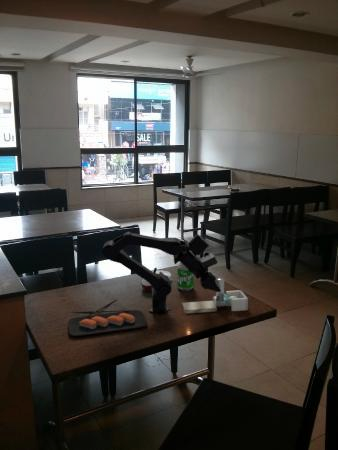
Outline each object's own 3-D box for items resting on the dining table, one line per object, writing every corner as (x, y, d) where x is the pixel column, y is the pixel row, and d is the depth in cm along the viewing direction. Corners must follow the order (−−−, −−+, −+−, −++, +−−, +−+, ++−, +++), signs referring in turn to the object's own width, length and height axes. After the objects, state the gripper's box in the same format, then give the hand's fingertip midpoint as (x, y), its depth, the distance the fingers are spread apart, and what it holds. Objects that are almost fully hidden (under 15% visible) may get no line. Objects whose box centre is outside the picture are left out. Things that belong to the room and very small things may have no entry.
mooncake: (148, 286, 193) (148, 278, 192) (145, 277, 205) (145, 270, 204) (173, 284, 195) (173, 276, 195) (168, 275, 207) (168, 268, 206)
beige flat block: (185, 313, 164) (185, 310, 164) (182, 306, 171) (182, 302, 170) (216, 311, 166) (216, 307, 165) (212, 304, 173) (212, 300, 172)
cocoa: (139, 289, 190) (137, 264, 187) (151, 286, 192) (149, 262, 190) (147, 296, 181) (145, 270, 179) (160, 292, 184) (158, 267, 181)
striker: (216, 306, 166) (216, 282, 163) (212, 300, 172) (213, 276, 169) (229, 305, 167) (230, 281, 164) (225, 299, 172) (226, 276, 170)
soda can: (174, 286, 191) (174, 262, 188) (188, 284, 194) (189, 260, 192) (181, 292, 185) (182, 267, 182) (196, 289, 188) (196, 265, 185)
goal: (232, 311, 166) (232, 299, 165) (225, 302, 174) (226, 291, 173) (247, 310, 167) (248, 298, 166) (240, 301, 175) (240, 290, 174)
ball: (230, 303, 166) (239, 307, 167) (232, 293, 168) (241, 297, 169) (224, 305, 170) (233, 309, 171) (227, 295, 172) (236, 299, 173)
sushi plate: (69, 341, 145) (68, 331, 144) (66, 306, 173) (66, 297, 172) (149, 330, 152) (149, 320, 151) (134, 298, 180) (134, 290, 179)
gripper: (211, 255, 153) (238, 281, 158) (200, 241, 171) (224, 265, 176) (190, 276, 154) (217, 301, 158) (181, 260, 172) (206, 283, 176)
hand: (217, 286), depth 167 cm, fingers open, 9 cm apart
